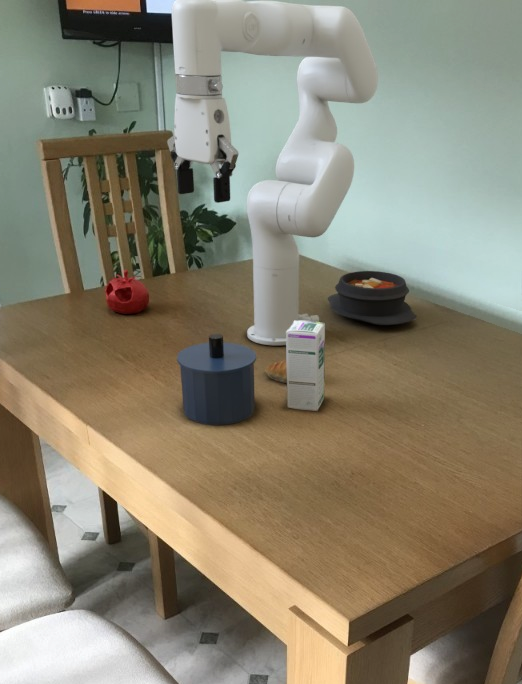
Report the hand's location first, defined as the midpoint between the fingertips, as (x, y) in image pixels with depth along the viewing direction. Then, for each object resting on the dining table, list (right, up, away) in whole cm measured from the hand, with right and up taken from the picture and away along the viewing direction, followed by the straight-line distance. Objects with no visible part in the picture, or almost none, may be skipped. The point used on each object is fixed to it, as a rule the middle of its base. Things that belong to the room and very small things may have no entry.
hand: (203, 197), depth 143 cm
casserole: (+32, -9, +47) cm, 58 cm away
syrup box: (+18, -36, +4) cm, 40 cm away
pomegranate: (-24, -8, +47) cm, 53 cm away
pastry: (+15, -30, +14) cm, 36 cm away
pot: (+3, -37, +1) cm, 37 cm away
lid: (+3, -29, -4) cm, 29 cm away
